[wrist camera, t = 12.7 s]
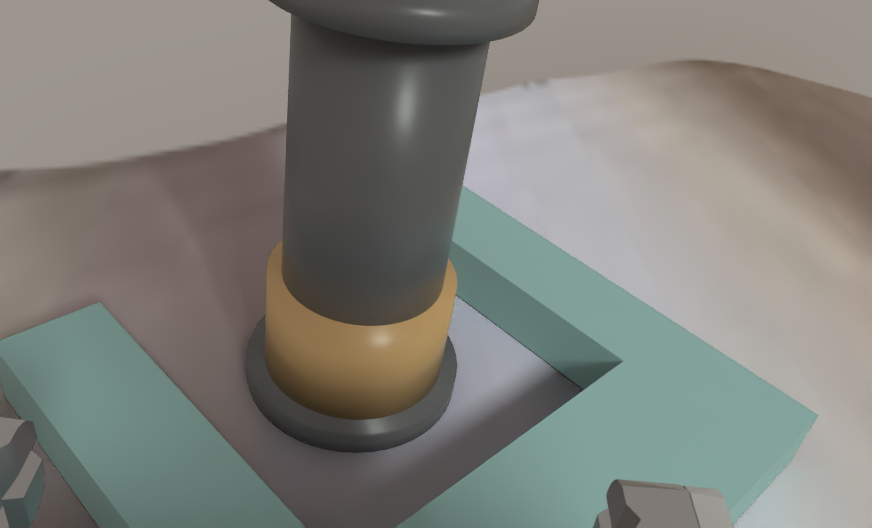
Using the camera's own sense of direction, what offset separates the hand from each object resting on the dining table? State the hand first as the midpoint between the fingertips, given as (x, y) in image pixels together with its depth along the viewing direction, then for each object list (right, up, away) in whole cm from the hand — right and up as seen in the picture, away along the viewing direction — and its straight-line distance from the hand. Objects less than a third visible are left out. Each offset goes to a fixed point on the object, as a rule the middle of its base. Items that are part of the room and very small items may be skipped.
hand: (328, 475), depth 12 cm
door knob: (-1, 0, +14) cm, 14 cm away
